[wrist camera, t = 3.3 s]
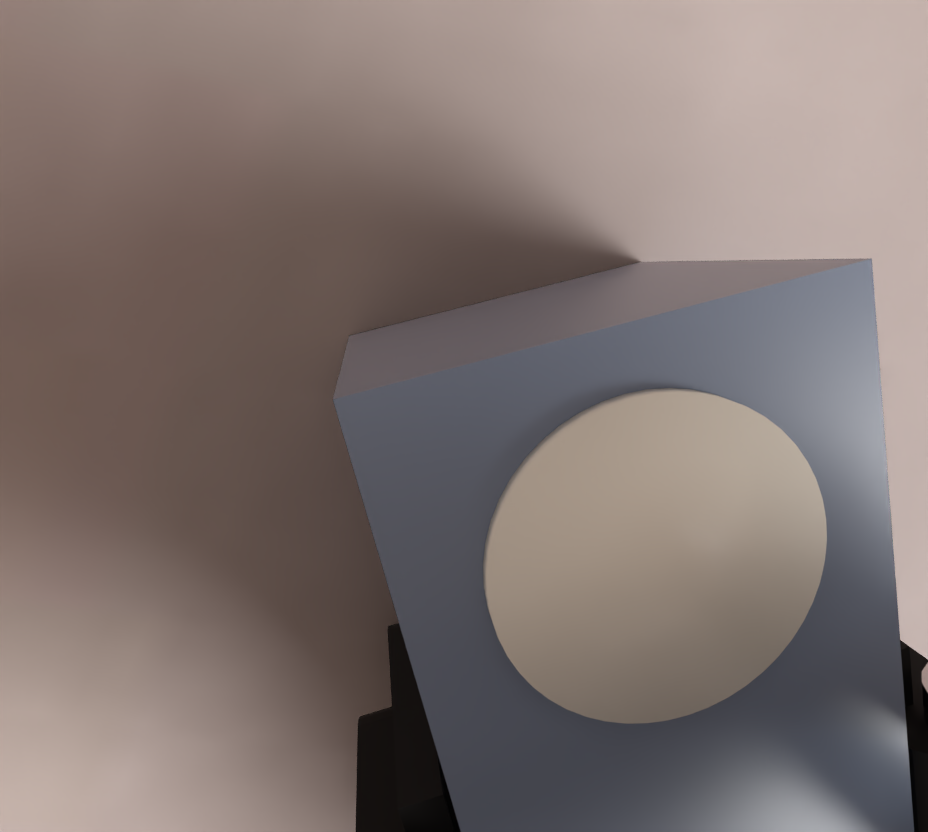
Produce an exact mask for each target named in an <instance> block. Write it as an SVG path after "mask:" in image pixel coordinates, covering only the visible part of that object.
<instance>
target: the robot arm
mask: <svg viewBox="0 0 928 832" xmlns="http://www.w3.org/2000/svg"><path fill="white" fill-rule="evenodd" d="M388 642H389V659H390V677H391V695H392V707H390V708H387V709H383V710H380V711H377V712H373V713H370V714H367V715H364V716H360V718H359V720H358V747H357V797H356V832H461V831H460V827H459V824H458V821H457V817H456V814H455V810H454V807H453V804H452V800H451V797H450V794H449V790H448V787H447V783H446V780H445V777H444V773H443V770H442V767H441V763H440V760H439V756H438V753H437V750H436V746H435V743H434V740H433V736H432V733H431V729H430V726H429V723H428V719H427V716H426V713H425V709H424V706H423V702H422V699H421V696H420V692H419V689H418V686H417V682H416V679H415V675H414V672H413V669H412V665H411V662H410V659H409V655H408V652H407V648H406V645H405V642H404V638H403V635H402V632H401V628H400V625H399V623H398V624H394V625H391V626H388ZM900 647H901V660H902V674H903V687H904V701H905V714H906V727H907V741H908V754H909V768H910V781H911V795H912V808H913V822H914V832H928V660H927V659H926V658H925V657H923V656H922V655H920V654H919V653H917V652H916V651H915V650H913V649H912V648H910V647H909V646H908V645H906V644H905V643H904V642H902V641H901V640H900Z"/></svg>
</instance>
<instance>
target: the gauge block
mask: <svg viewBox="0 0 928 832" xmlns="http://www.w3.org/2000/svg"><path fill="white" fill-rule="evenodd" d="M333 402H334V405H335V409H336V412H337V416H338V419H339V422H340V426H341V429H342V432H343V436H344V439H345V443H346V446H347V449H348V453H349V456H350V459H351V463H352V466H353V470H354V473H355V476H356V480H357V483H358V486H359V490H360V493H361V497H362V500H363V503H364V507H365V510H366V513H367V517H368V520H369V524H370V527H371V530H372V534H373V537H374V540H375V544H376V547H377V551H378V554H379V557H380V561H381V564H382V567H383V571H384V574H385V578H386V581H387V584H388V588H389V591H390V594H391V598H392V601H393V605H394V608H395V611H396V615H397V618H398V621H399V625H400V628H401V632H402V635H403V638H404V642H405V645H406V648H407V652H408V655H409V659H410V662H411V665H412V669H413V672H414V675H415V679H416V682H417V686H418V689H419V692H420V696H421V699H422V702H423V706H424V709H425V713H426V716H427V719H428V723H429V726H430V729H431V733H432V736H433V740H434V743H435V746H436V750H437V753H438V756H439V760H440V763H441V767H442V770H443V773H444V777H445V780H446V783H447V787H448V790H449V794H450V797H451V800H452V804H453V807H454V810H455V814H456V817H457V821H458V824H459V827H460V831H461V832H914V822H913V808H912V795H911V781H910V768H909V754H908V741H907V727H906V714H905V701H904V687H903V674H902V660H901V647H900V633H899V620H898V606H897V593H896V579H895V566H894V552H893V539H892V526H891V512H890V499H889V485H888V472H887V458H886V445H885V431H884V418H883V404H882V391H881V378H880V364H879V351H878V337H877V324H876V310H875V297H874V283H873V270H872V259H810V260H739V261H669V262H638V263H634V264H630V265H626V266H622V267H618V268H615V269H611V270H607V271H603V272H599V273H595V274H591V275H587V276H583V277H579V278H575V279H571V280H567V281H563V282H559V283H555V284H551V285H547V286H544V287H540V288H536V289H532V290H528V291H524V292H520V293H516V294H512V295H508V296H504V297H500V298H496V299H492V300H488V301H484V302H480V303H476V304H472V305H469V306H465V307H461V308H457V309H453V310H449V311H445V312H441V313H437V314H433V315H429V316H425V317H421V318H417V319H413V320H409V321H405V322H401V323H398V324H394V325H390V326H386V327H382V328H378V329H374V330H370V331H366V332H362V333H358V334H354V335H350V336H349V338H348V342H347V346H346V350H345V354H344V358H343V362H342V365H341V369H340V373H339V377H338V381H337V385H336V389H335V392H334V396H333Z"/></svg>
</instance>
